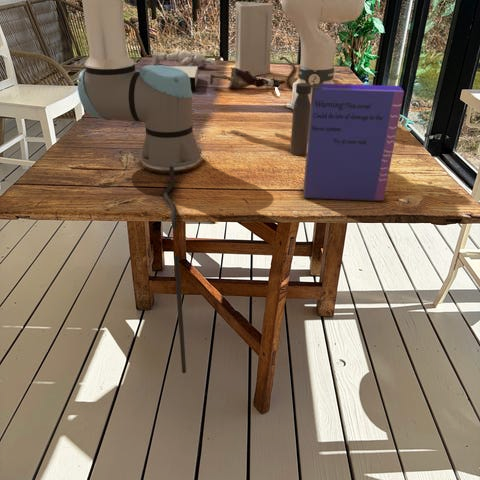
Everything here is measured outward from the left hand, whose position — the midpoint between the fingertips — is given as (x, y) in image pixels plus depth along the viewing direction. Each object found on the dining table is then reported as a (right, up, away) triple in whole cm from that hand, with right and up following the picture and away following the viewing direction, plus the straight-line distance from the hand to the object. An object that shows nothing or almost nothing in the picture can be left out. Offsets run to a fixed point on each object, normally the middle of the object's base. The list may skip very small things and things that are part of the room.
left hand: (174, 20), depth 152 cm
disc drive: (-6, -6, +44) cm, 45 cm away
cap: (+37, -31, -30) cm, 57 cm away
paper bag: (+27, +6, +65) cm, 71 cm away
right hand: (+49, -10, -37) cm, 62 cm away
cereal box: (+44, -60, -44) cm, 87 cm away
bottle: (+37, -46, -21) cm, 63 cm away
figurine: (+24, -9, +40) cm, 47 cm away
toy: (-5, +12, +73) cm, 75 cm away
